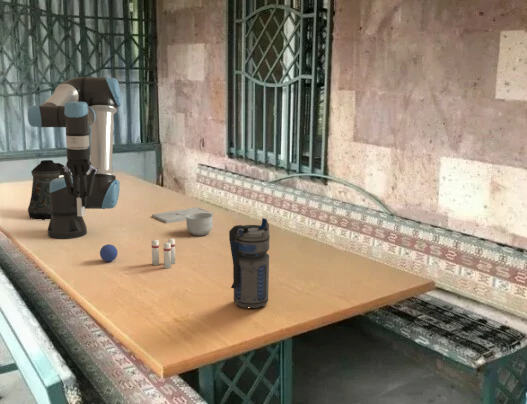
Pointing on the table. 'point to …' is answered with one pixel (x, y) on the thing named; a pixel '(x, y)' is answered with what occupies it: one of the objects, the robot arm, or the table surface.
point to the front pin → (155, 252)
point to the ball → (108, 252)
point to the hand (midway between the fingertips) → (81, 215)
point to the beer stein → (43, 188)
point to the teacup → (199, 223)
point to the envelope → (178, 214)
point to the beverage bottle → (250, 264)
